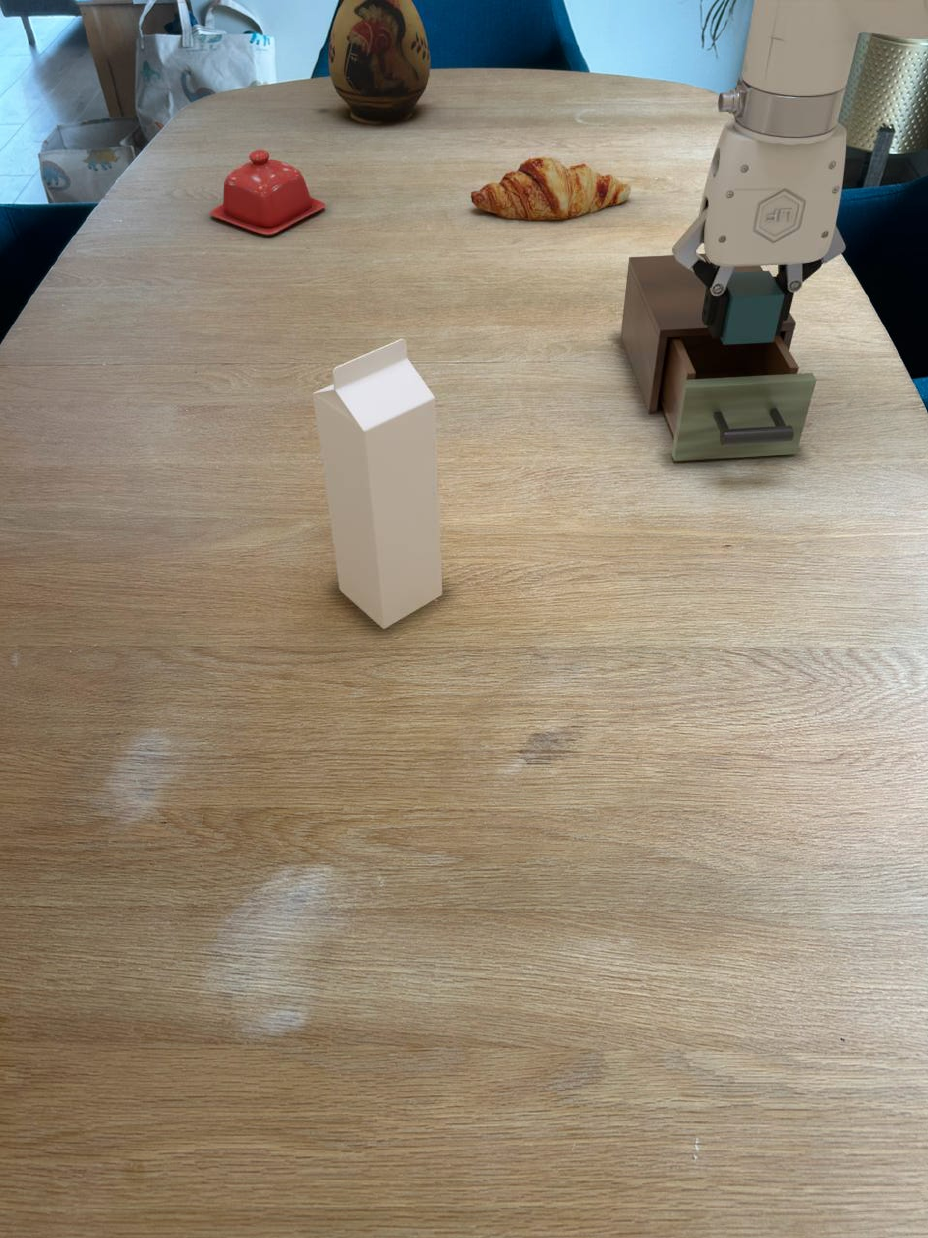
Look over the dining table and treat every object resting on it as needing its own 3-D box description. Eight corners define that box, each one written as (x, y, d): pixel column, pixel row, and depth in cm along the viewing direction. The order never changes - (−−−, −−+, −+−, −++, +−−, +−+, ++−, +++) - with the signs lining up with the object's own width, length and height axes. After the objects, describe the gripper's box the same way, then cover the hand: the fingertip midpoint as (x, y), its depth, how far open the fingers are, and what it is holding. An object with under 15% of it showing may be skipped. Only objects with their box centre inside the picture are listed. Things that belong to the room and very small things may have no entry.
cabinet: (774, 411, 98) (796, 322, 91) (647, 419, 98) (660, 329, 91) (734, 336, 108) (751, 250, 102) (619, 342, 108) (629, 256, 101)
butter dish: (269, 245, 125) (258, 176, 119) (206, 222, 130) (193, 155, 124) (331, 213, 132) (324, 146, 126) (269, 193, 137) (259, 127, 131)
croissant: (619, 220, 137) (617, 156, 135) (643, 213, 127) (642, 144, 125) (467, 230, 134) (462, 166, 132) (480, 224, 125) (475, 154, 122)
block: (759, 317, 89) (769, 270, 86) (773, 342, 86) (784, 294, 83) (710, 319, 89) (719, 272, 86) (723, 344, 86) (732, 297, 83)
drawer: (811, 482, 89) (833, 407, 83) (684, 489, 88) (698, 414, 83) (754, 375, 101) (770, 303, 96) (643, 381, 101) (653, 309, 95)
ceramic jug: (445, 104, 160) (440, -126, 139) (413, 139, 150) (401, -104, 129) (347, 94, 164) (327, -131, 143) (309, 127, 154) (281, -110, 132)
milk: (339, 594, 81) (303, 350, 65) (398, 561, 84) (377, 319, 68) (385, 635, 77) (358, 388, 62) (445, 599, 80) (433, 353, 65)
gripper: (688, 129, 71) (655, 356, 84) (918, 120, 72) (851, 346, 85) (665, 93, 77) (638, 312, 90) (879, 85, 78) (822, 303, 90)
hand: (742, 327), depth 87 cm, fingers closed on block, 4 cm apart
